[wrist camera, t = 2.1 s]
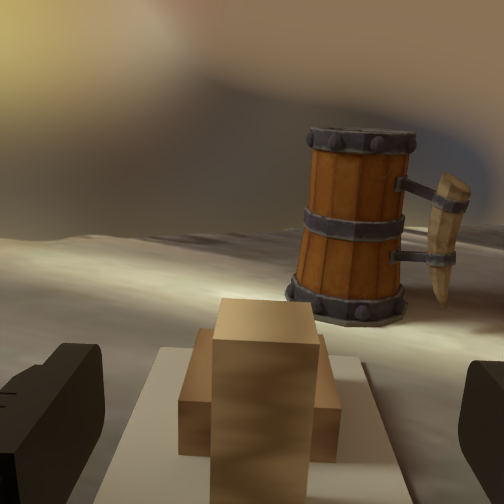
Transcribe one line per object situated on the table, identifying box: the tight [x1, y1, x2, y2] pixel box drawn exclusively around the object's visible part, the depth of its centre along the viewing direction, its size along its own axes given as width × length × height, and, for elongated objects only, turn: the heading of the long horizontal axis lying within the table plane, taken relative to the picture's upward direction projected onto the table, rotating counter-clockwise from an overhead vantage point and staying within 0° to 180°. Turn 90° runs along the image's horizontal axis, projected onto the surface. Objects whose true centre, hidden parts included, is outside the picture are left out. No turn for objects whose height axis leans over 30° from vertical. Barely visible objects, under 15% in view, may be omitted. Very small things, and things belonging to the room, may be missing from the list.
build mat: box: [93, 347, 413, 504], centre depth 33 cm, size 18×24×1 cm
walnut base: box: [178, 329, 342, 463], centre depth 35 cm, size 10×10×4 cm
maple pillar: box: [209, 298, 320, 504], centre depth 24 cm, size 4×4×12 cm
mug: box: [285, 127, 471, 327], centre depth 54 cm, size 19×14×20 cm
